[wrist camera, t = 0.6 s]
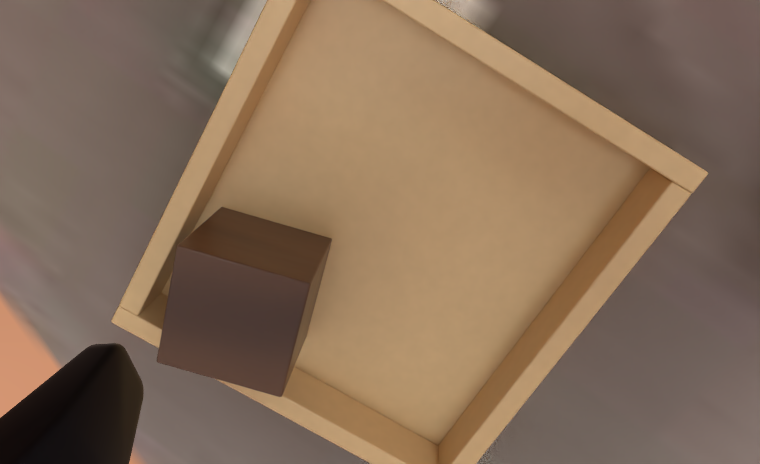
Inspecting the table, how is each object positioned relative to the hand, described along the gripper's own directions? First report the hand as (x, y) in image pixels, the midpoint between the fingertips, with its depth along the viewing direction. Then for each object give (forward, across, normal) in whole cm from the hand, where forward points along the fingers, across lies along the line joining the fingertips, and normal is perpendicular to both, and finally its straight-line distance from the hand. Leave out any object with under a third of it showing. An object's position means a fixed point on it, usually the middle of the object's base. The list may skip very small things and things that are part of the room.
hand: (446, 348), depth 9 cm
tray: (+14, +2, +8) cm, 16 cm away
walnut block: (+13, +7, +9) cm, 17 cm away
